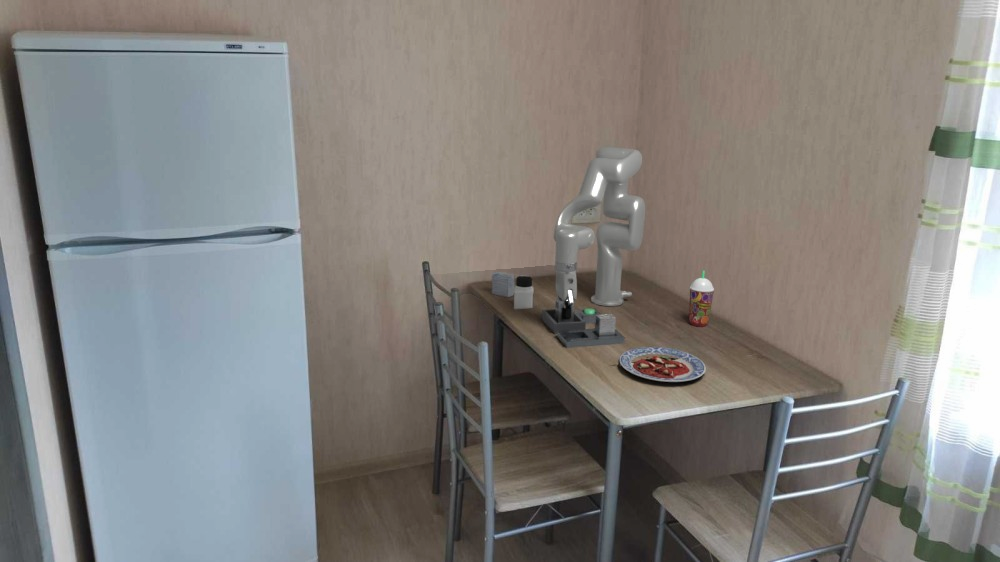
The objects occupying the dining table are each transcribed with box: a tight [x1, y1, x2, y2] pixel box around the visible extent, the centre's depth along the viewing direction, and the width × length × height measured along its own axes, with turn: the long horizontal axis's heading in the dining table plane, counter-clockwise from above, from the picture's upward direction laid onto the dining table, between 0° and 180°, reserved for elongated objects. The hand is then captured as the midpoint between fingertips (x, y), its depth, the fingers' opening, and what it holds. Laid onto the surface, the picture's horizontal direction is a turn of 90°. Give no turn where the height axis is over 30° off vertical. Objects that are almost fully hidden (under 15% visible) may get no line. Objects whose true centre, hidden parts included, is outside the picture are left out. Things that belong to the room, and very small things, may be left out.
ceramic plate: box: [619, 346, 707, 383], centre depth 220 cm, size 26×26×3 cm
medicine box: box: [491, 271, 515, 298], centre depth 286 cm, size 8×4×9 cm, turn 58°
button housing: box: [576, 307, 602, 325], centre depth 257 cm, size 7×7×4 cm
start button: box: [584, 307, 595, 314], centre depth 257 cm, size 4×4×4 cm
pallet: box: [556, 327, 626, 349], centre depth 239 cm, size 20×10×3 cm, turn 104°
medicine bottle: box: [513, 275, 535, 310], centre depth 271 cm, size 7×7×12 cm
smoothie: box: [688, 270, 715, 328], centre depth 256 cm, size 8×8×20 cm
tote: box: [541, 308, 587, 335], centre depth 252 cm, size 11×15×4 cm
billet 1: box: [554, 296, 575, 323], centre depth 251 cm, size 6×4×8 cm
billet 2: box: [594, 313, 617, 337], centre depth 239 cm, size 6×4×8 cm
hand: (564, 315), depth 251 cm, fingers closed on billet 1, 4 cm apart
